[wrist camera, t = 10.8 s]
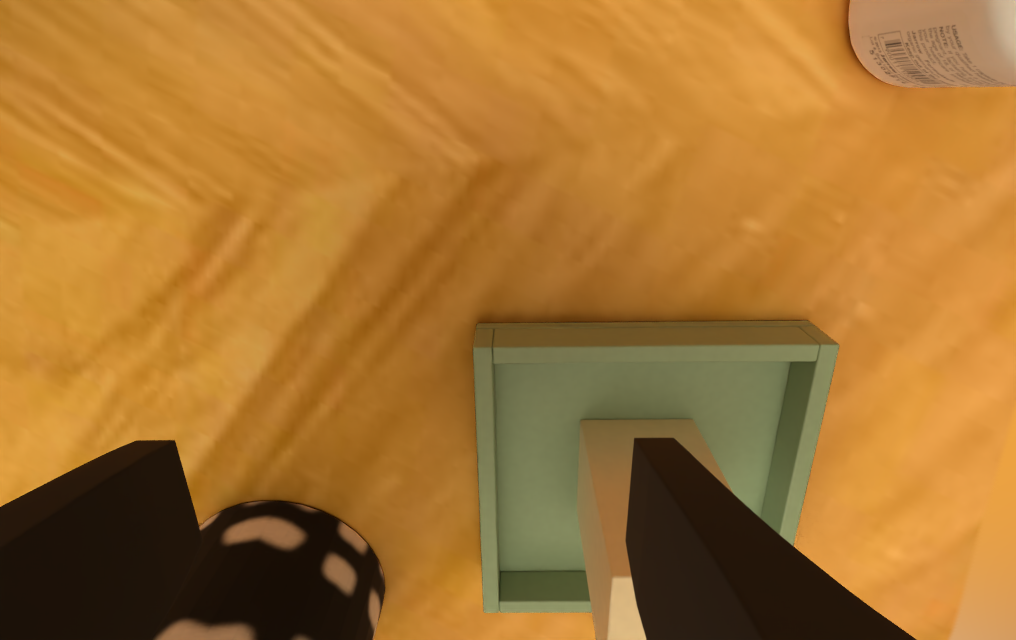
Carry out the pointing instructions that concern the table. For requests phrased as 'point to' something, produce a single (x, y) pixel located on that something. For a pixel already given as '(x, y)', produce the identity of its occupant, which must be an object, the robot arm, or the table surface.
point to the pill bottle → (936, 41)
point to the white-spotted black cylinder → (278, 579)
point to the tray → (621, 396)
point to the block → (619, 512)
